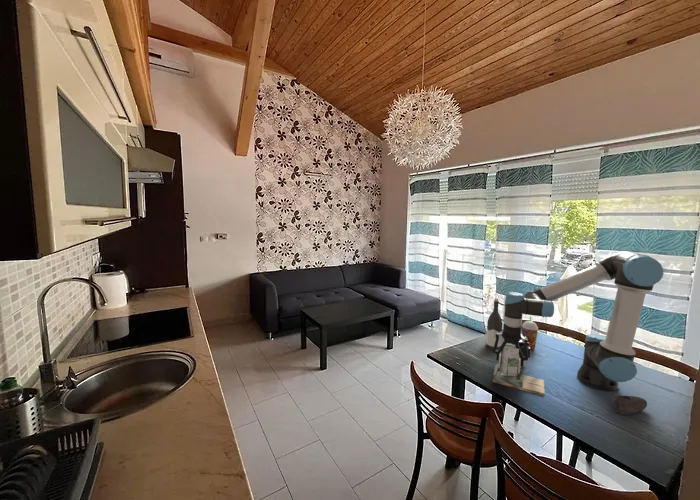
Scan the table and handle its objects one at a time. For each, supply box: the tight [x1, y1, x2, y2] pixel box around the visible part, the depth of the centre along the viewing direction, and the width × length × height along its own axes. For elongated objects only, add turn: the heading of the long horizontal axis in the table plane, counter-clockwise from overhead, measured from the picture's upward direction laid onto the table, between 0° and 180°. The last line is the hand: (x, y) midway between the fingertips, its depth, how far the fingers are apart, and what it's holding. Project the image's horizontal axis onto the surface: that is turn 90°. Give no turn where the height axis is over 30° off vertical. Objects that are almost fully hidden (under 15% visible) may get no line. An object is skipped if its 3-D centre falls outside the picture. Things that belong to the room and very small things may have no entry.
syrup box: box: [500, 344, 519, 377], centre depth 144 cm, size 6×6×14 cm
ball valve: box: [507, 334, 531, 369], centre depth 158 cm, size 18×8×18 cm, turn 168°
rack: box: [492, 363, 546, 397], centre depth 143 cm, size 21×12×4 cm, turn 58°
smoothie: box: [521, 315, 539, 352], centre depth 177 cm, size 8×8×20 cm
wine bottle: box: [485, 297, 503, 350], centre depth 179 cm, size 8×8×30 cm
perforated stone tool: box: [612, 395, 648, 415], centre depth 122 cm, size 15×5×7 cm, turn 96°
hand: (509, 369), depth 145 cm, fingers closed on syrup box, 8 cm apart
